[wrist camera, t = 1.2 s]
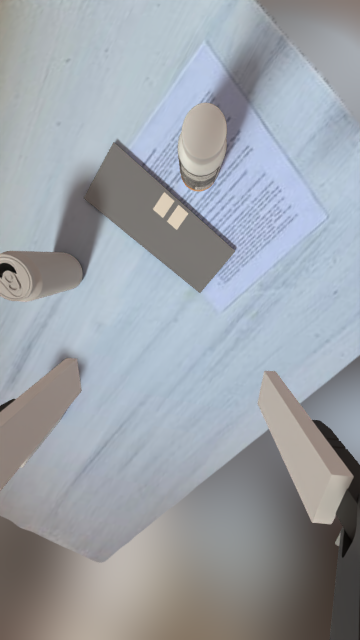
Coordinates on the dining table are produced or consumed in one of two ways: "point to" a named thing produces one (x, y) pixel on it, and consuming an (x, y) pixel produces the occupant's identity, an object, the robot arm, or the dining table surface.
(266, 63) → the dining table surface
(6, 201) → the dining table surface
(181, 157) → the pill bottle
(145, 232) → the slate board
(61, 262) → the beverage can
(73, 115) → the dining table surface
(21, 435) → the robot arm
